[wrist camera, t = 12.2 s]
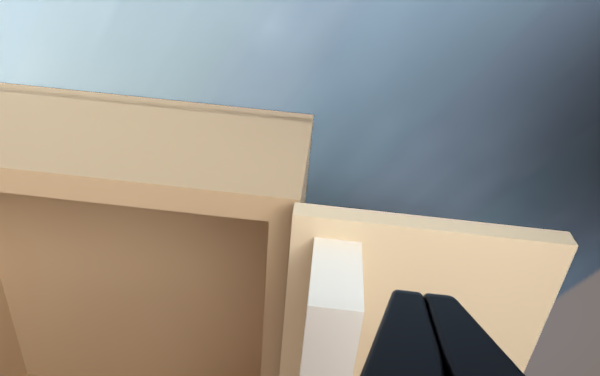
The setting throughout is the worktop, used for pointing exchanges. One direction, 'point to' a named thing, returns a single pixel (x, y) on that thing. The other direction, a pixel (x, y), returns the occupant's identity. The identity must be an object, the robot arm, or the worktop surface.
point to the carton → (144, 234)
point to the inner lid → (411, 280)
